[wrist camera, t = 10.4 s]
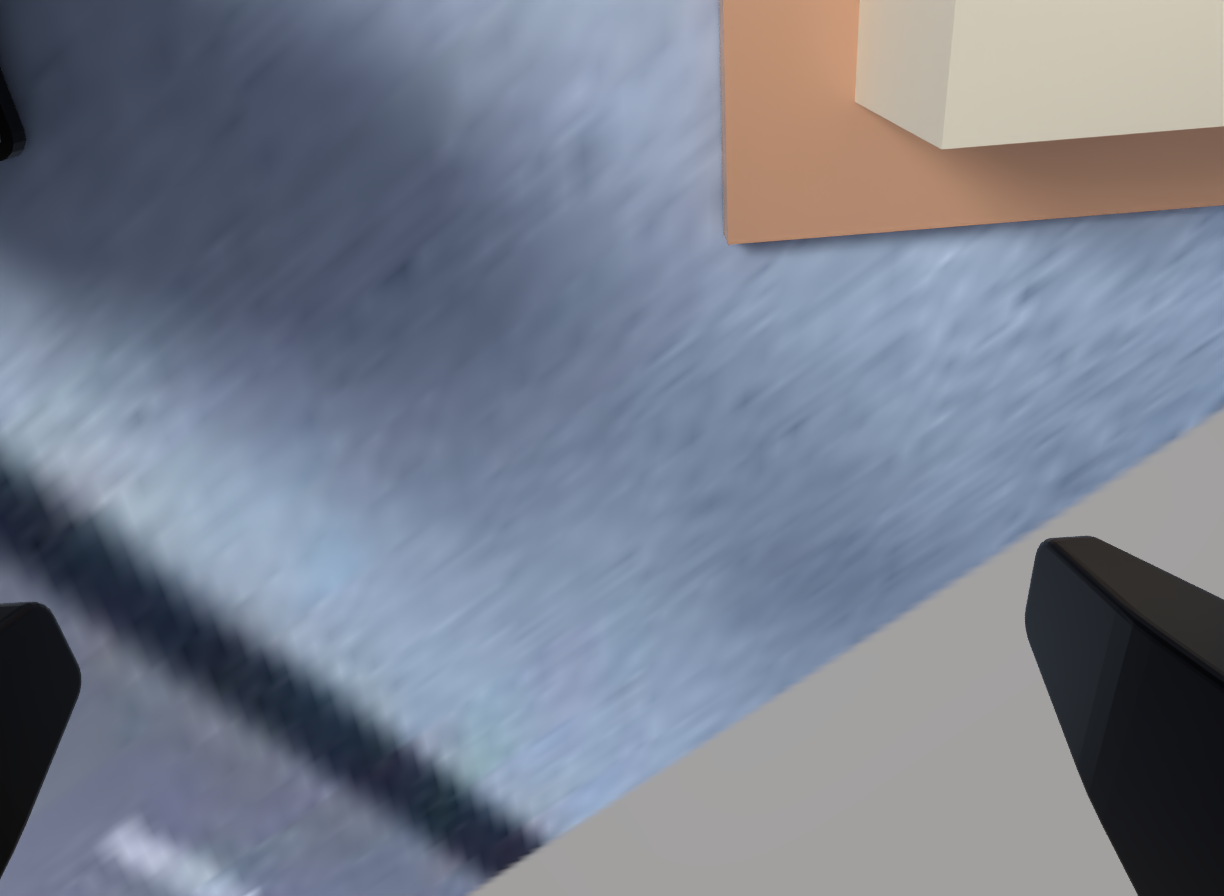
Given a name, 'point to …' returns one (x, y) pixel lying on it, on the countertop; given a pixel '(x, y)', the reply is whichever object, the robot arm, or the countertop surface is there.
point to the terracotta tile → (906, 147)
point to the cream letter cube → (1040, 68)
